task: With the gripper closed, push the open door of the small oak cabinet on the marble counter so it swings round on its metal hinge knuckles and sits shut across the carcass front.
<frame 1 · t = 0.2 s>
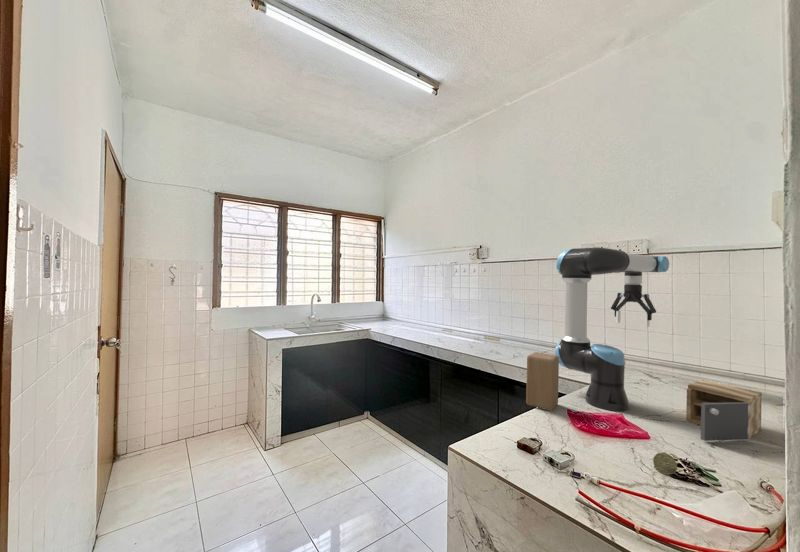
hand: (632, 324, 173), 28 cm above the counter, fingers open, 13 cm apart
wooden block: (542, 405, 134), on the counter
carcass: (722, 425, 118), on the counter
door: (728, 422, 105), point 6 cm above the counter, hinge at 65.0°
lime: (664, 473, 88), on the counter
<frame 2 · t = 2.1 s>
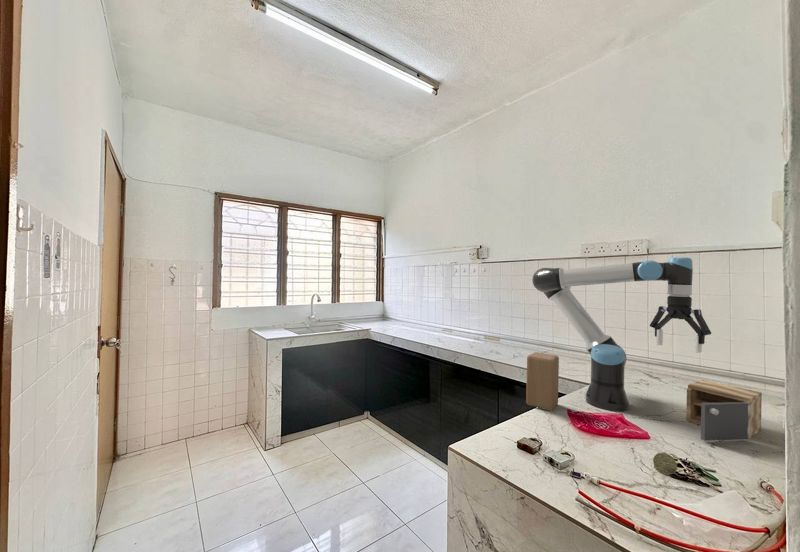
hand: (677, 348, 134), 24 cm above the counter, fingers open, 13 cm apart
nothing on the counter moved.
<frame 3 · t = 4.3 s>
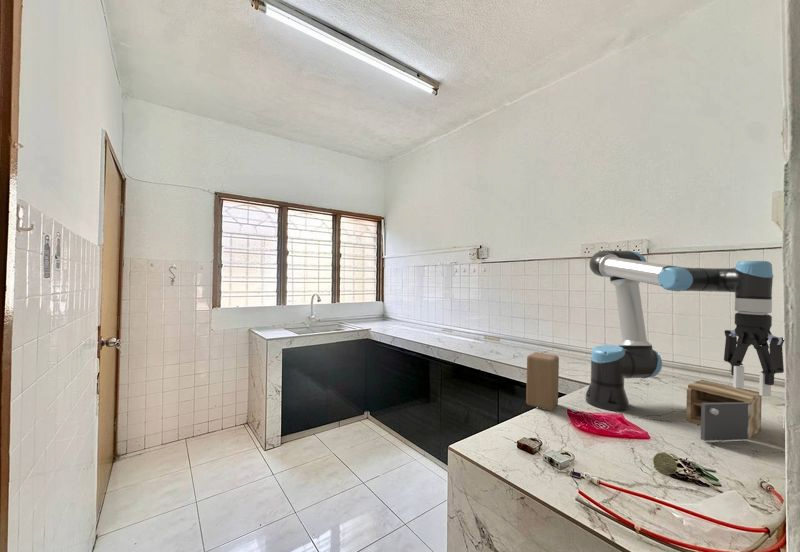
hand: (751, 391, 98), 19 cm above the counter, fingers open, 6 cm apart
nothing on the counter moved.
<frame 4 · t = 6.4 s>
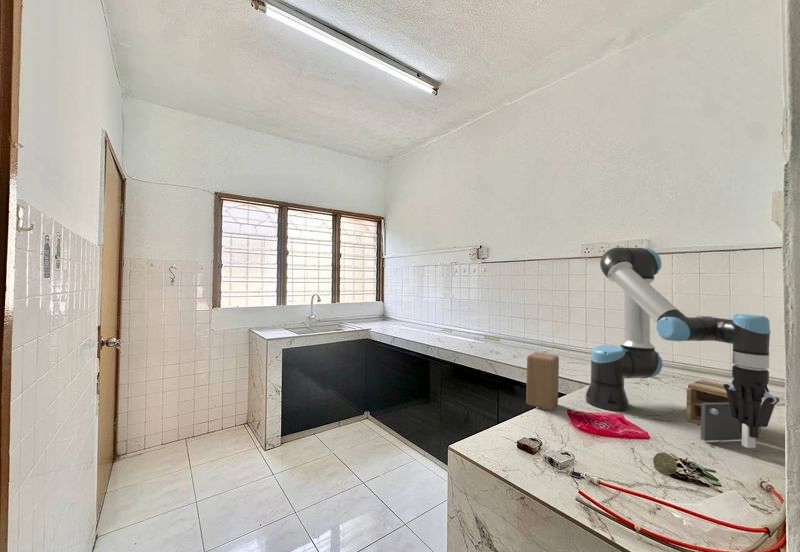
hand: (748, 446, 99), 2 cm above the counter, fingers closed
nothing on the counter moved.
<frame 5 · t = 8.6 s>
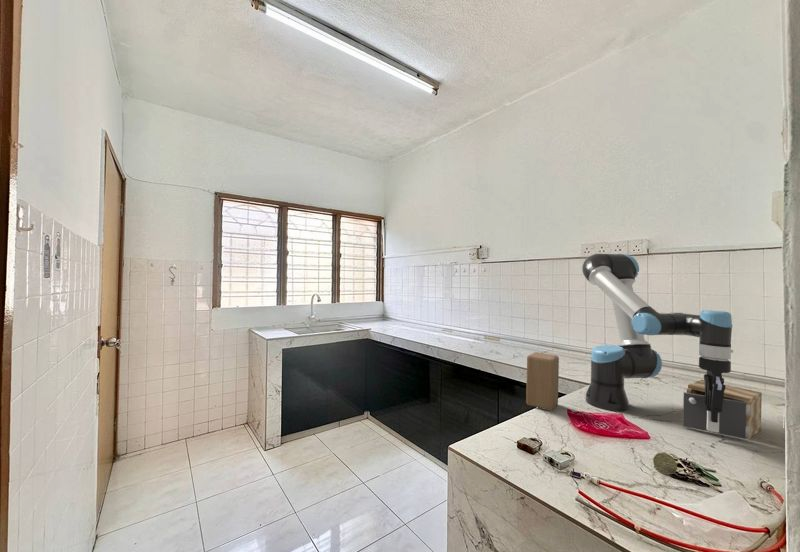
hand: (712, 430, 108), 3 cm above the counter, fingers closed
door: (715, 415, 110), point 6 cm above the counter, hinge at 25.7°, touching hand
everything else where it was.
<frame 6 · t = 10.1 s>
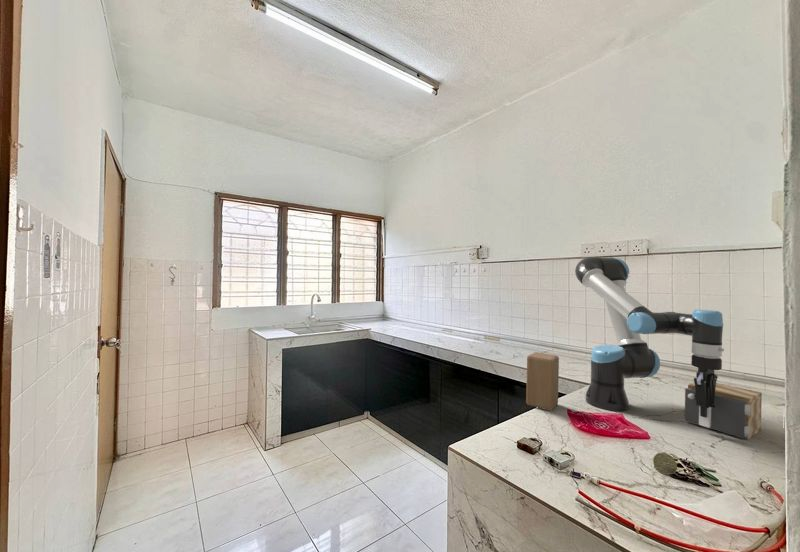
hand: (704, 425, 112), 2 cm above the counter, fingers closed
door: (714, 412, 113), point 6 cm above the counter, hinge at 1.8°, touching hand
everything else where it was.
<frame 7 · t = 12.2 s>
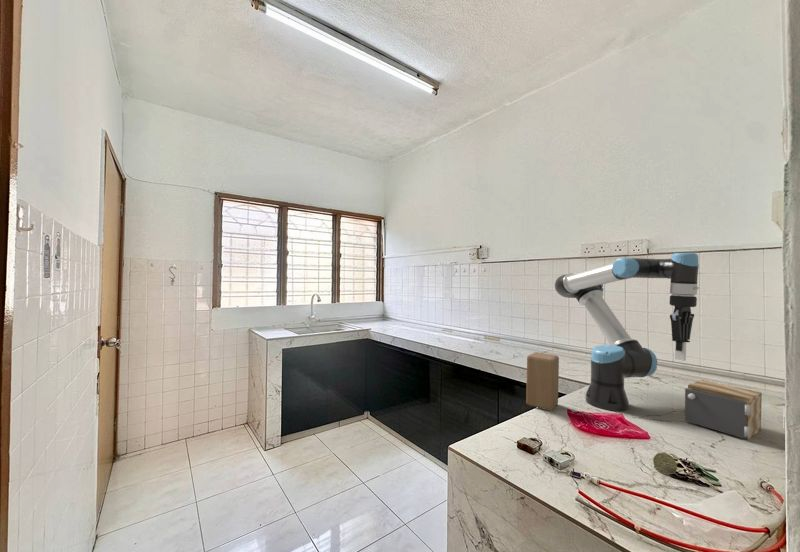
hand: (680, 359, 122), 22 cm above the counter, fingers closed
door: (715, 412, 113), point 6 cm above the counter, hinge at 1.7°
everything else where it was.
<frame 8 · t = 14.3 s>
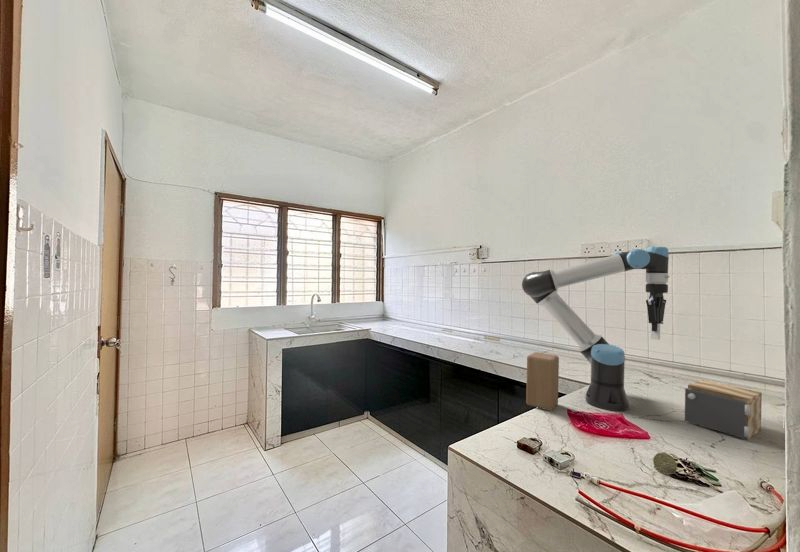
hand: (655, 338, 141), 26 cm above the counter, fingers closed
nothing on the counter moved.
at the end: door at +2° (first picture: +65°) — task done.
